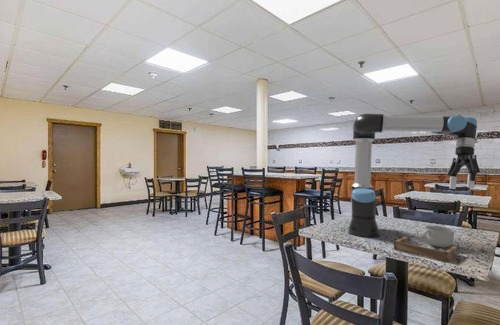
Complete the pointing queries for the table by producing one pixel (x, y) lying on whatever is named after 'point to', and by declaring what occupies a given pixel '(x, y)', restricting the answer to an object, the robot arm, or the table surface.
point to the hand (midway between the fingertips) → (460, 188)
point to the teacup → (438, 236)
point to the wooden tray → (425, 250)
